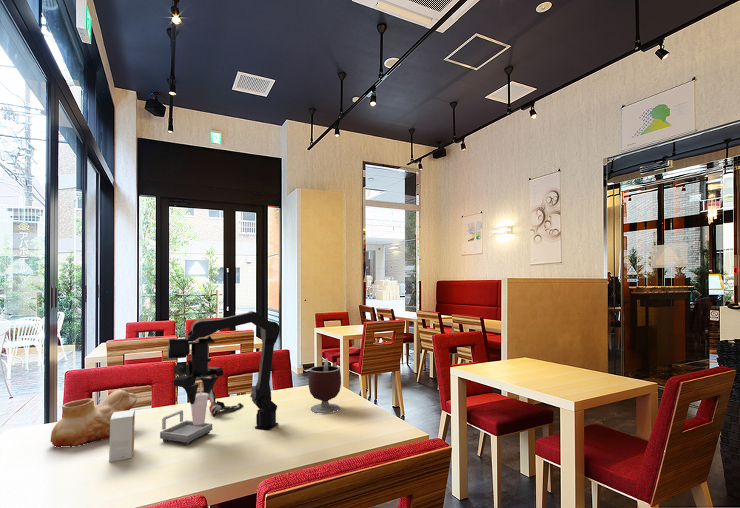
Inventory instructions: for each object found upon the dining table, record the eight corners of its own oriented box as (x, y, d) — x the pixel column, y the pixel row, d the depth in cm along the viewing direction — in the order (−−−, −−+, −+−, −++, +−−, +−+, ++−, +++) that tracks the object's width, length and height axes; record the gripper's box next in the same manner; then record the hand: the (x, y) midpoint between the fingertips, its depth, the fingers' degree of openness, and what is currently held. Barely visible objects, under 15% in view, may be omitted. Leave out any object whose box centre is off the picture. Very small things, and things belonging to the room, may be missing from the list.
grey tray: (212, 433, 148) (212, 411, 149) (187, 446, 137) (187, 422, 138) (184, 429, 153) (184, 408, 153) (157, 441, 141) (158, 418, 142)
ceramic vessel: (142, 431, 152) (142, 390, 153) (54, 453, 133) (56, 406, 134) (129, 422, 162) (130, 384, 163) (46, 442, 142) (47, 398, 143)
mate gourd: (339, 414, 167) (339, 364, 169) (306, 414, 168) (305, 365, 169) (342, 403, 183) (342, 357, 184) (312, 403, 183) (311, 358, 184)
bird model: (221, 437, 172) (237, 409, 185) (239, 424, 166) (254, 395, 179) (182, 409, 167) (201, 382, 180) (199, 394, 161) (217, 367, 174)
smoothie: (201, 427, 139) (202, 385, 140) (184, 426, 140) (185, 384, 141) (212, 420, 146) (212, 380, 146) (195, 419, 147) (196, 380, 148)
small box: (132, 458, 129) (133, 416, 129) (108, 462, 126) (109, 419, 127) (134, 448, 136) (135, 409, 137) (112, 452, 133) (112, 411, 134)
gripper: (199, 350, 156) (199, 392, 155) (160, 359, 138) (159, 407, 137) (224, 352, 152) (223, 394, 151) (187, 361, 135) (186, 410, 134)
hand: (199, 401), depth 143 cm, fingers closed on smoothie, 6 cm apart
